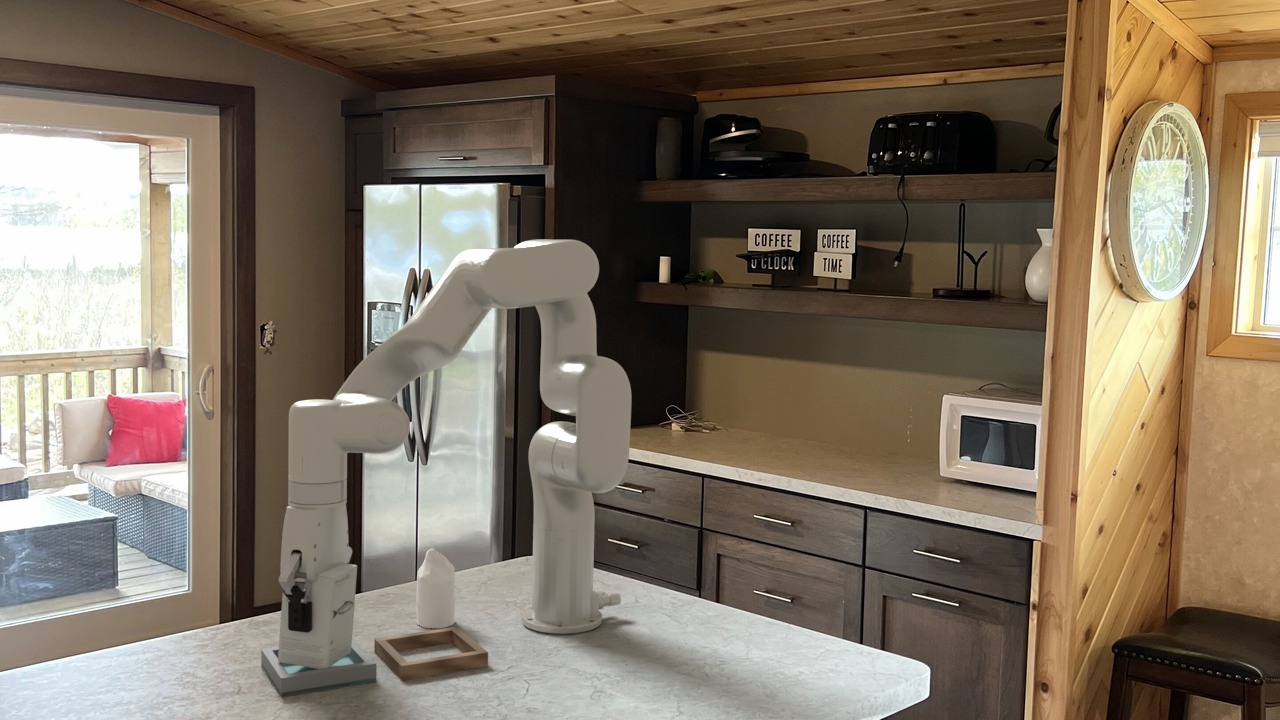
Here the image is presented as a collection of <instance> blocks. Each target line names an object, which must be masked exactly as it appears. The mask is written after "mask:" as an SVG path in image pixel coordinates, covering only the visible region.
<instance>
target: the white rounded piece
mask: <svg viewBox="0 0 1280 720" xmlns="http://www.w3.org/2000/svg"><path fill="white" fill-rule="evenodd" d="M416 573H417V575H416V590H415V591H416V594H415V599H416V604H415V605H416V624H418V626H419V625H420V626H419V627H421V626H422V628H425V629H430V628H432V629H433V628H435V629H444V628H443V627H445V628H450V627H452V626H453V625H454V624H455V622H456V621H455V618H456V615H455V600H456V599H455V591H456V590H455V589H456V576H455V575H456V573H455V566H454V565H453V564H452V563H451V561H449V560H448V558H447V557H446V556H445V555H444V554H442V553H441V552H440V551H437V550H436V549H434V548H430V549H428V550H427V551H426V553H425V557H424V560H423V562H422V564H421V566H420V567H419V568H418V570H417V572H416Z"/></svg>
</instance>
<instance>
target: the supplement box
mask: <svg viewBox="0 0 1280 720" xmlns="http://www.w3.org/2000/svg"><path fill="white" fill-rule="evenodd" d="M357 574H358V565H357V564H352V563H348V564H346V563H345V564H342V565H340V566H337V567H335V568H332V569H330V570H328V571H325V572H323V573H321V574H319V575H318V578H317V580H316V581H315V582H313V584H312V591H311V594H310V598H309V601H308V602H312V630H311V631H310V632H308V633H306V632H298V631H290V630H289V629H288V602H287V601H286V596H285V594H284V593H283V592H282V597H281V598H282V599H281V611H280V627H279V638H278V639H279V640H278V647H279V652H278V662H282V663H287V664H293V665H298V666H304V667H310V668H316V669H324V668H329V667H330V666H332V665H333V664H335V663H336V662H337V661H339V660H341V659H342V658H344V657H345V656H347V655H349V654H350V653H351V644H352V638H353V631H354V630H353V629H354V619H355V617H354V616H355V602H356V591H357V589H356V588H357V587H356V586H357V576H358V575H357ZM296 577H301V578H307V573H304V572H297V573H296ZM304 585H305V584H301V583H297V586H298V587H299V588H300V589H301V591H302V592H303V589H304Z"/></svg>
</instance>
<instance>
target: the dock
mask: <svg viewBox="0 0 1280 720" xmlns="http://www.w3.org/2000/svg"><path fill="white" fill-rule="evenodd" d="M278 652H279V646H273V647H265V648H261V649H260V653H261V654H260V659H261V660H260V661H261V662H260V665H261V666H260V667H261V668H262V670H263V672H264V673H265V675H266V676H267V677H268V679H269V681H270V682H271V684H272V686H273V687H274V689H275V690H276V692H277V694H278V695H279V696H280V698H285V697H291V696H292V697H293V696H298V695H304V694H309V693H310V694H311V693H315V692H321V691H329V690H334V689H340V688H347V687H353V686H360V685H365V684H371V683H376V682H377V665H378V664H377V662H376V661H375V660H374V659H373V658H372V657H371V656H370V655H369V654H368V653H367V652H366V651H365V649H364V648H363V647H362V646H361V645H360V644H359V643H358V642H357V641H356V640H355V639H354V637H352V644H351V653H350V654H349V655H347V656H345V657H344V658H342V659H341V660H339V661H337V662H336V663H335V664H333V665H332V666H330V667H329V668H324V669H316V668H310V667H304V666H298V665H293V664H287V663H282V662H278Z"/></svg>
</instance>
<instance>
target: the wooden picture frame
mask: <svg viewBox="0 0 1280 720" xmlns="http://www.w3.org/2000/svg"><path fill="white" fill-rule="evenodd" d="M450 644H451V645H453V646H454V647H455V648H456V649H458V650H459V651H460V652H461V653H456V654H449V655H444V656H436V657H431V658H424V659H423V658H421V659H417V660H411V661H407V660H406V659H405V658H404V657H403V655H401V654H400V652H405V651H409V650H410V651H411V650H416V649H417V650H418V649H423V648H431V647H437V646H443V645H450ZM374 653H375V655H377V657H378V658H379V659H380V660H381V662H383V663H384V664H385V665H386V666H387V668H389V669H390V670H391V671H392V673H394V674H395V676H397V677H398V679H399V680H400V681H407V680H413V679H419V678H424V677H425V678H426V677H431V676H438V675H443V674H450V673H455V672H456V673H457V672H462V671H467V670H474V669H475V670H476V669H479V668H486V667H488V666H489V652H488V651H487V650H486V649H484V647H482V646H481V645H480V644H478V643H477V642H476V641H475V640H473V639H472V638H471V637H470V636H468V634H466V633H465V632H464V631H463V630H461V629H460V628H459V627H458V626H453V627H452V626H451V627H445V628H437V629H432V630H425V631H424V630H423V631H418V632H412V633H405V634H398V635H391V636H390V635H389V636H384V637H377V638H374Z"/></svg>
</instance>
